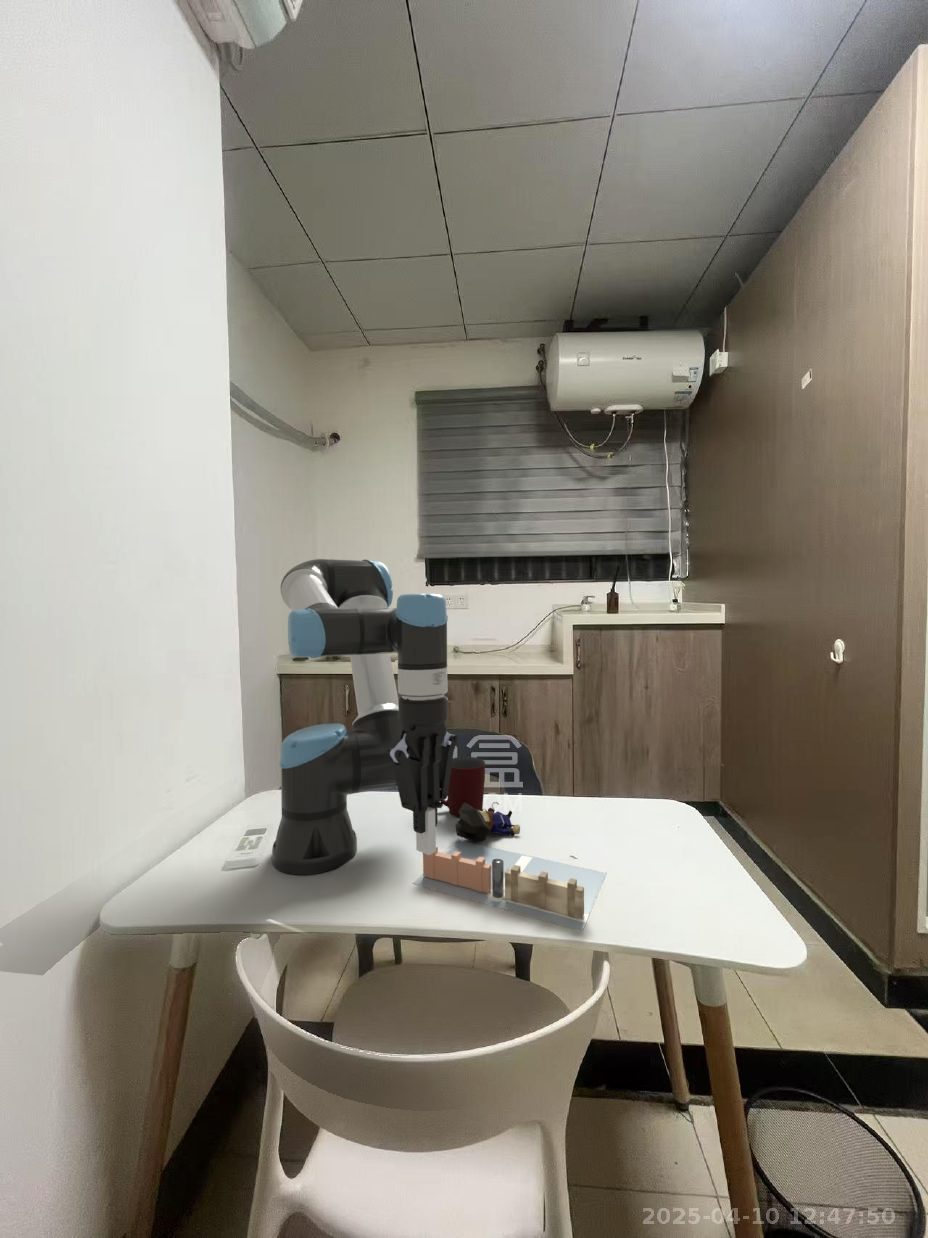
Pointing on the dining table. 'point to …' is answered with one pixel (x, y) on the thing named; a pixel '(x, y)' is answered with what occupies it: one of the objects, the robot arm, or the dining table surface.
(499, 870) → the hinge post
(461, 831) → the toy
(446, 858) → the swing panel
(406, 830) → the dining table surface
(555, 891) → the fixed panel
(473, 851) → the card
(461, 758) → the mug
